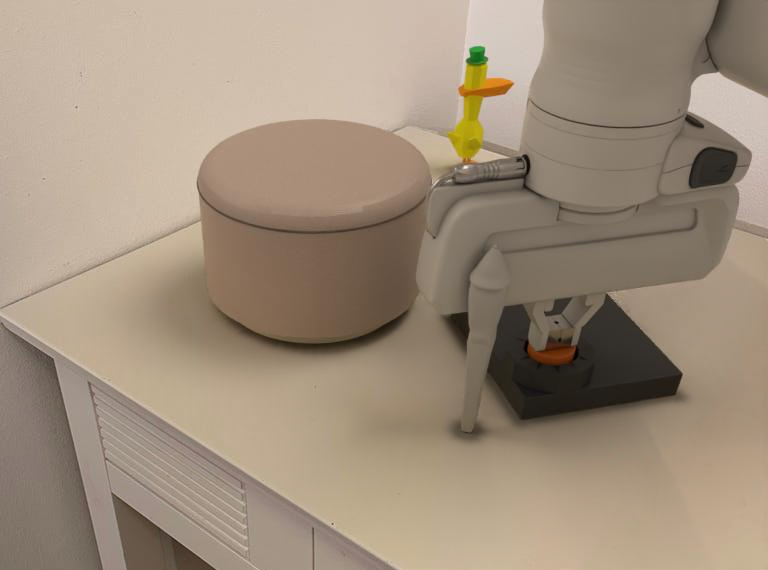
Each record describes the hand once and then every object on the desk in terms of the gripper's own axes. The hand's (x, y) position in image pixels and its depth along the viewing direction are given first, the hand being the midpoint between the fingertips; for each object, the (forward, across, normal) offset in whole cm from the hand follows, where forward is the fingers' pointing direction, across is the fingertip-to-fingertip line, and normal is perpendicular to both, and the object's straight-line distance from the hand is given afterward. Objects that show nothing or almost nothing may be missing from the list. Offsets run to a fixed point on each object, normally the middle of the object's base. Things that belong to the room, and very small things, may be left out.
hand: (551, 344), depth 62 cm
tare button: (+2, 0, 0) cm, 2 cm away
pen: (+4, -7, -3) cm, 9 cm away
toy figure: (+4, +9, +37) cm, 38 cm away
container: (+4, -13, +17) cm, 22 cm away
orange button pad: (+4, +3, +4) cm, 6 cm away
